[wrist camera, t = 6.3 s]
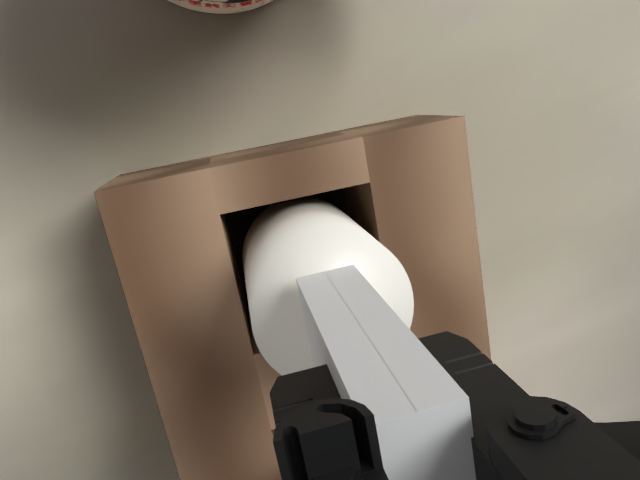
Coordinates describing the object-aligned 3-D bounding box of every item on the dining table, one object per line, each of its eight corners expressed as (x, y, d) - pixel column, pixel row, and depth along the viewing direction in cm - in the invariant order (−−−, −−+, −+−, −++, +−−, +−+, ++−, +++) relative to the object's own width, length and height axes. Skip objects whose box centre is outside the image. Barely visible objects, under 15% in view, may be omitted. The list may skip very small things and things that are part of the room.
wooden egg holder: (416, 115, 22) (464, 115, 18) (460, 445, 26) (507, 511, 22) (120, 174, 21) (93, 191, 16) (217, 515, 25) (216, 600, 20)
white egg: (348, 185, 20) (401, 215, 14) (368, 295, 21) (423, 366, 15) (230, 210, 19) (234, 253, 13) (256, 322, 20) (270, 406, 15)
